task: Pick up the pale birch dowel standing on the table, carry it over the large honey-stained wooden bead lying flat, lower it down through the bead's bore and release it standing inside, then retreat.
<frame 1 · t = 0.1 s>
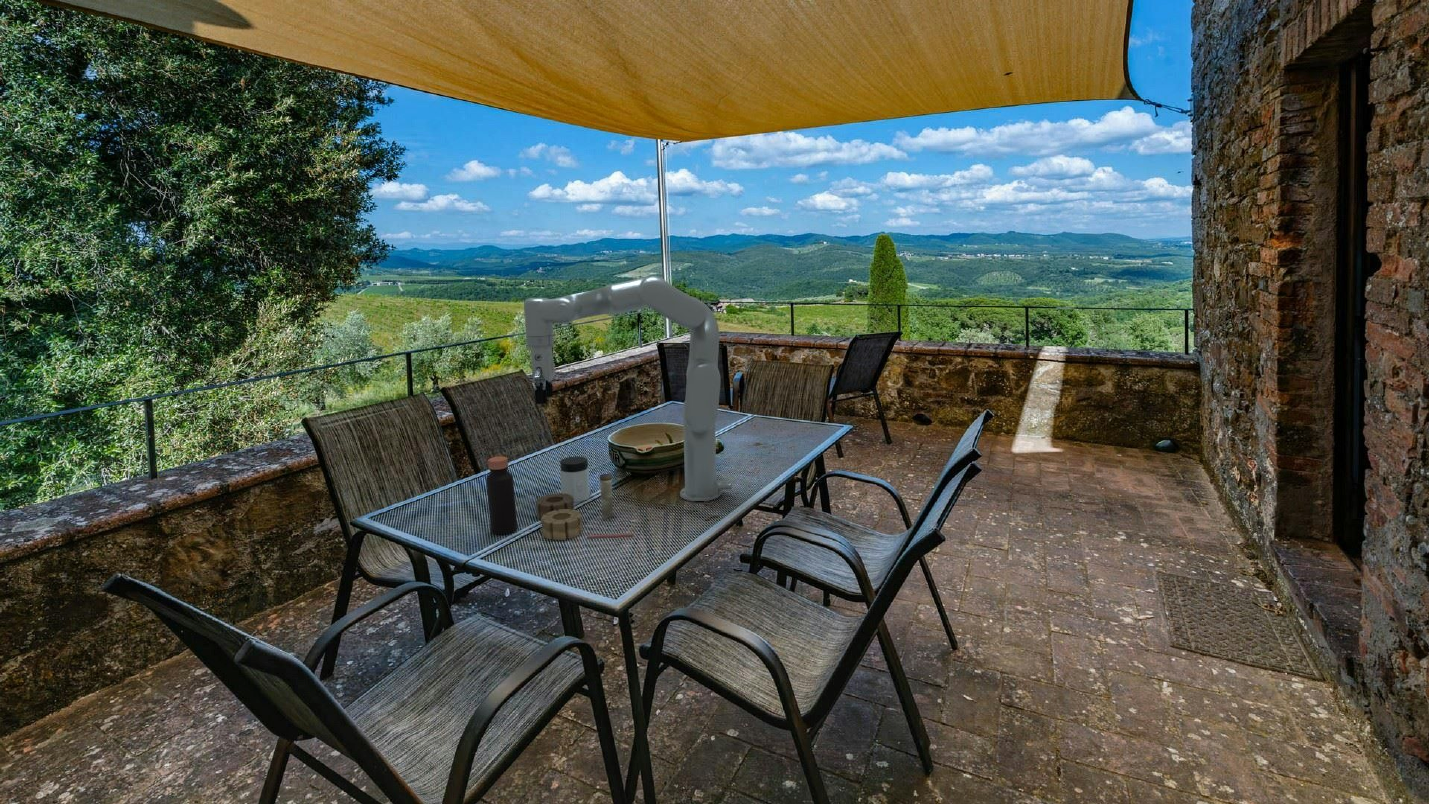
hand: (544, 400, 190), 31 cm above the table, tool pointing down, fingers open, 9 cm apart
bead two: (555, 514, 186), on the table
dowel: (607, 516, 184), on the table
jar: (576, 498, 199), on the table
reddish brown square stick: (610, 536, 170), on the table
bottle: (504, 530, 176), on the table
bead: (562, 532, 174), on the table
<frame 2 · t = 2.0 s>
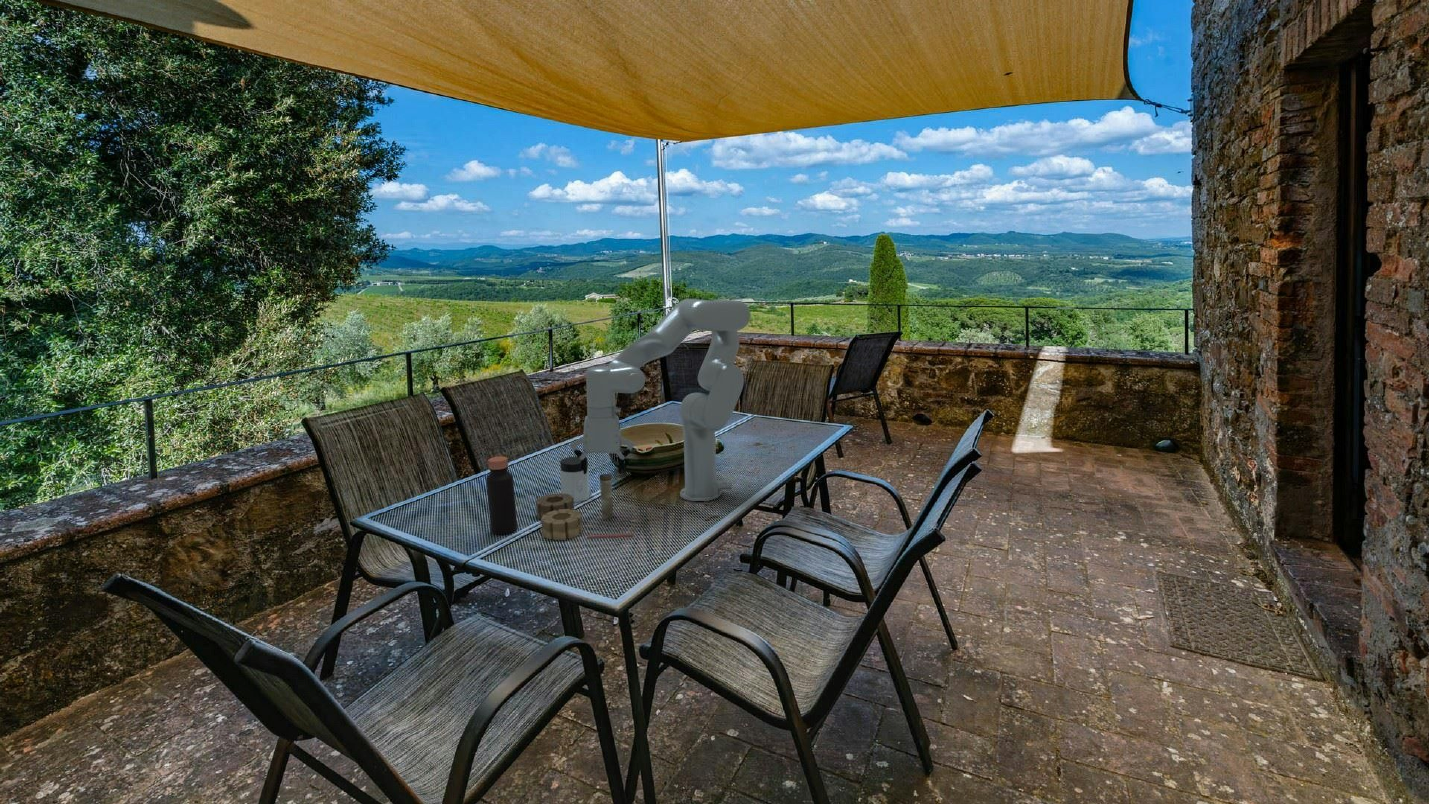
hand: (603, 472, 181), 13 cm above the table, tool pointing down, fingers open, 9 cm apart
nothing on the table moved.
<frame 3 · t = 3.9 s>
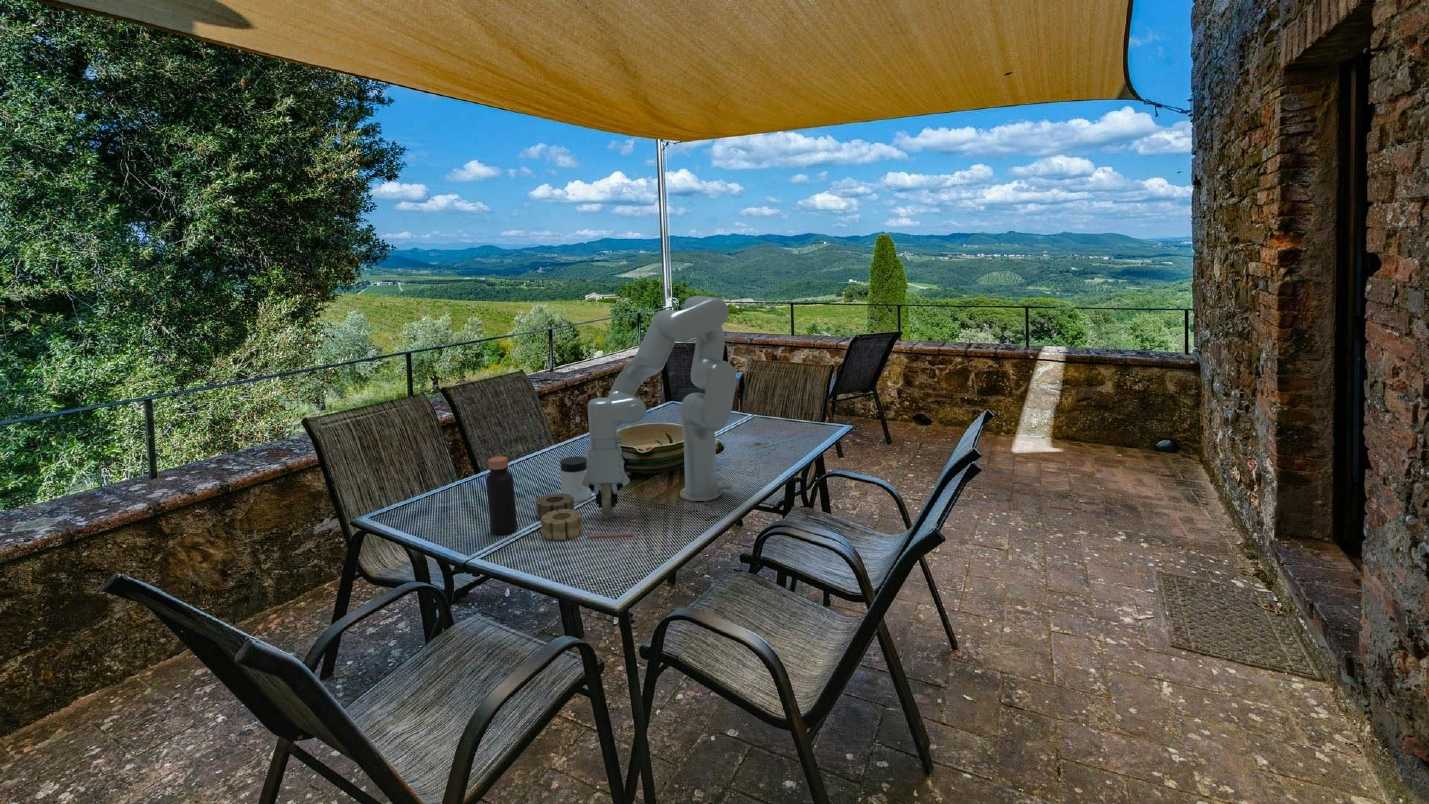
hand: (607, 505, 183), 3 cm above the table, tool pointing down, fingers closed on dowel, 3 cm apart
dowel: (607, 516, 184), on the table, touching gripper
everything else where it was.
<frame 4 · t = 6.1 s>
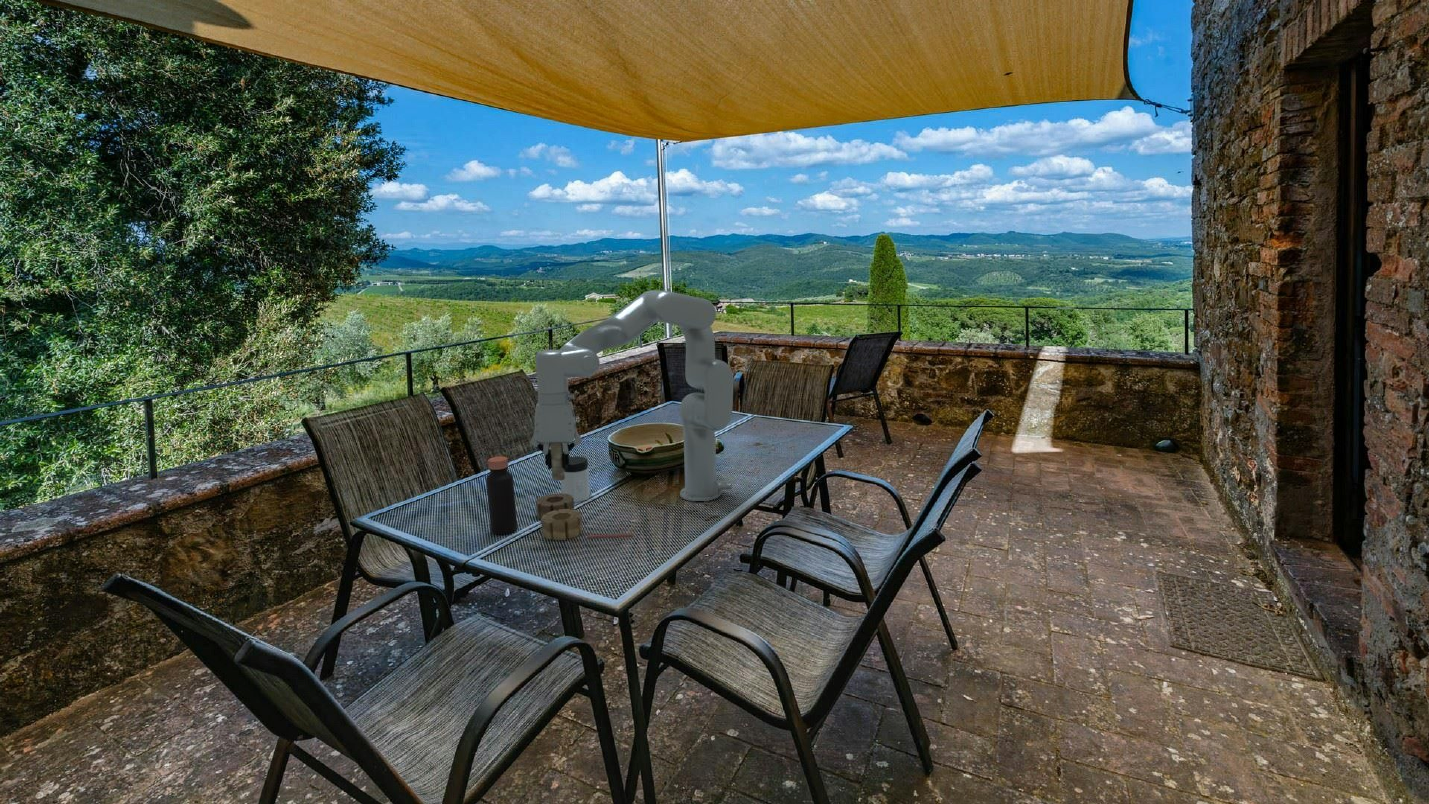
hand: (557, 467, 170), 18 cm above the table, tool pointing down, fingers closed on dowel, 3 cm apart
dowel: (558, 478, 170), point 15 cm above the table, touching gripper
everything else where it was.
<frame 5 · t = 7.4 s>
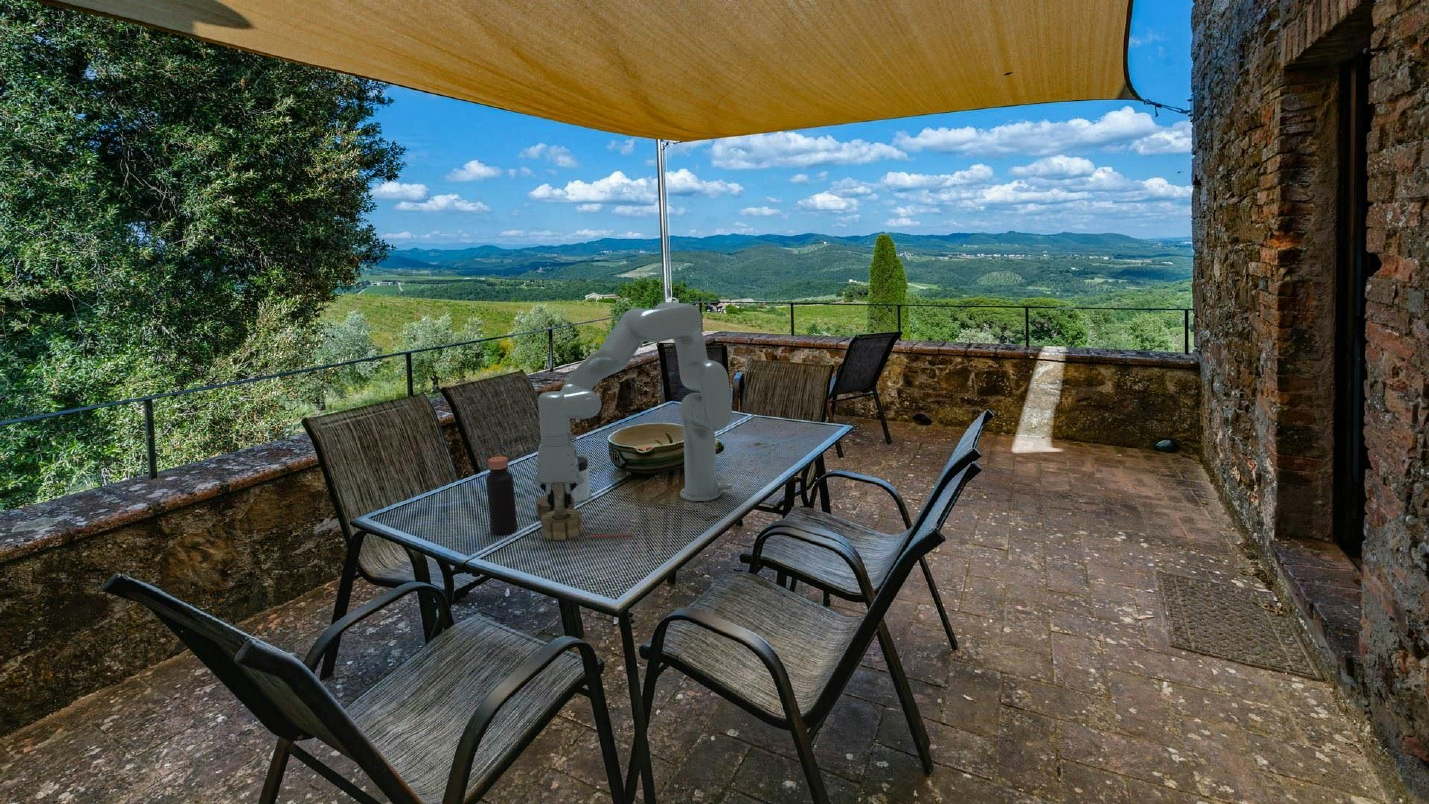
hand: (560, 506, 172), 7 cm above the table, tool pointing down, fingers closed on dowel, 3 cm apart
dowel: (560, 517, 173), point 4 cm above the table, touching gripper
everything else where it was.
when the fingers open (6 cm above the table, at t = 8.3 s): dowel drops 2 cm, resting in bead.
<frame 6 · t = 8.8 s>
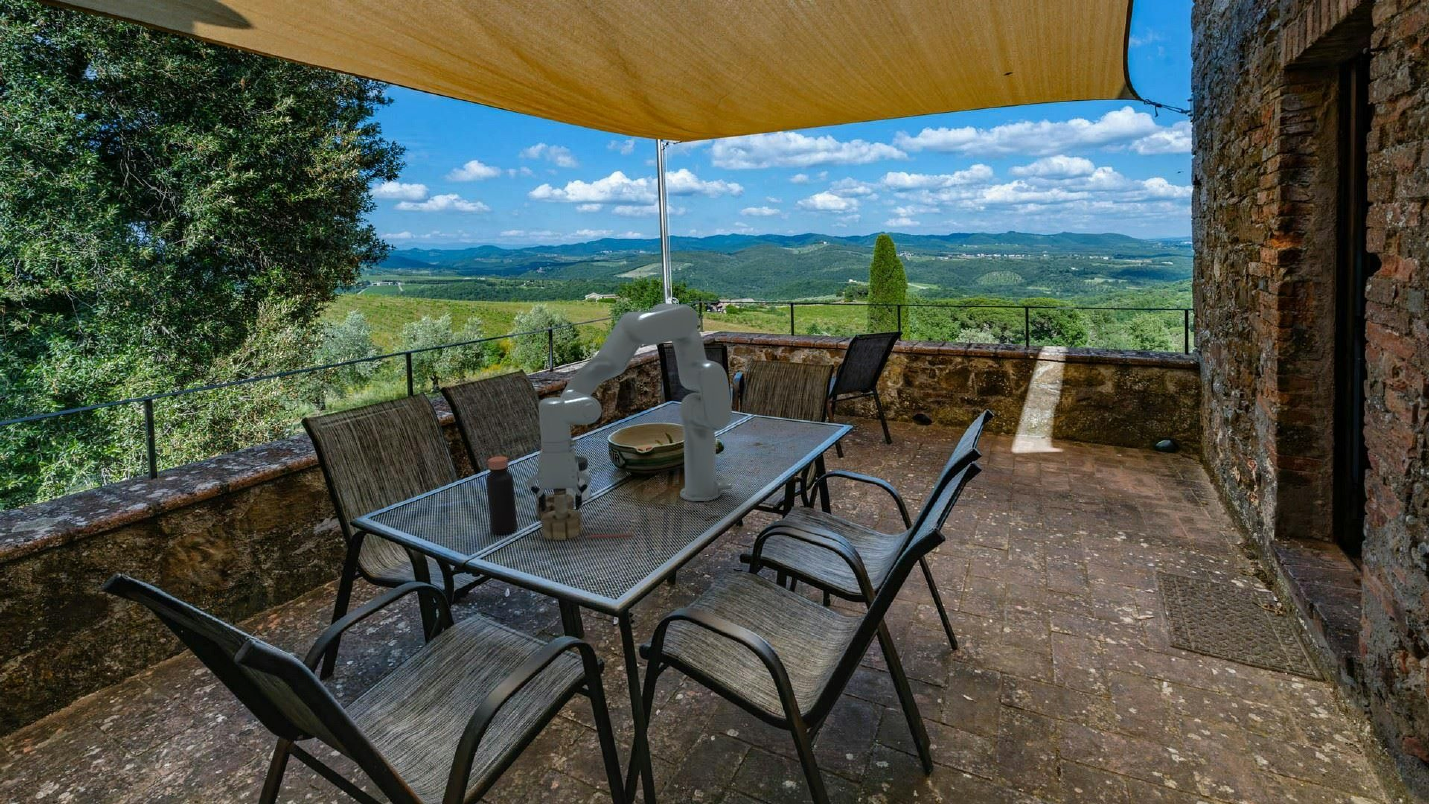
hand: (561, 508, 172), 7 cm above the table, tool pointing down, fingers open, 8 cm apart
dowel: (562, 532, 174), resting in bead
everything else where it was.
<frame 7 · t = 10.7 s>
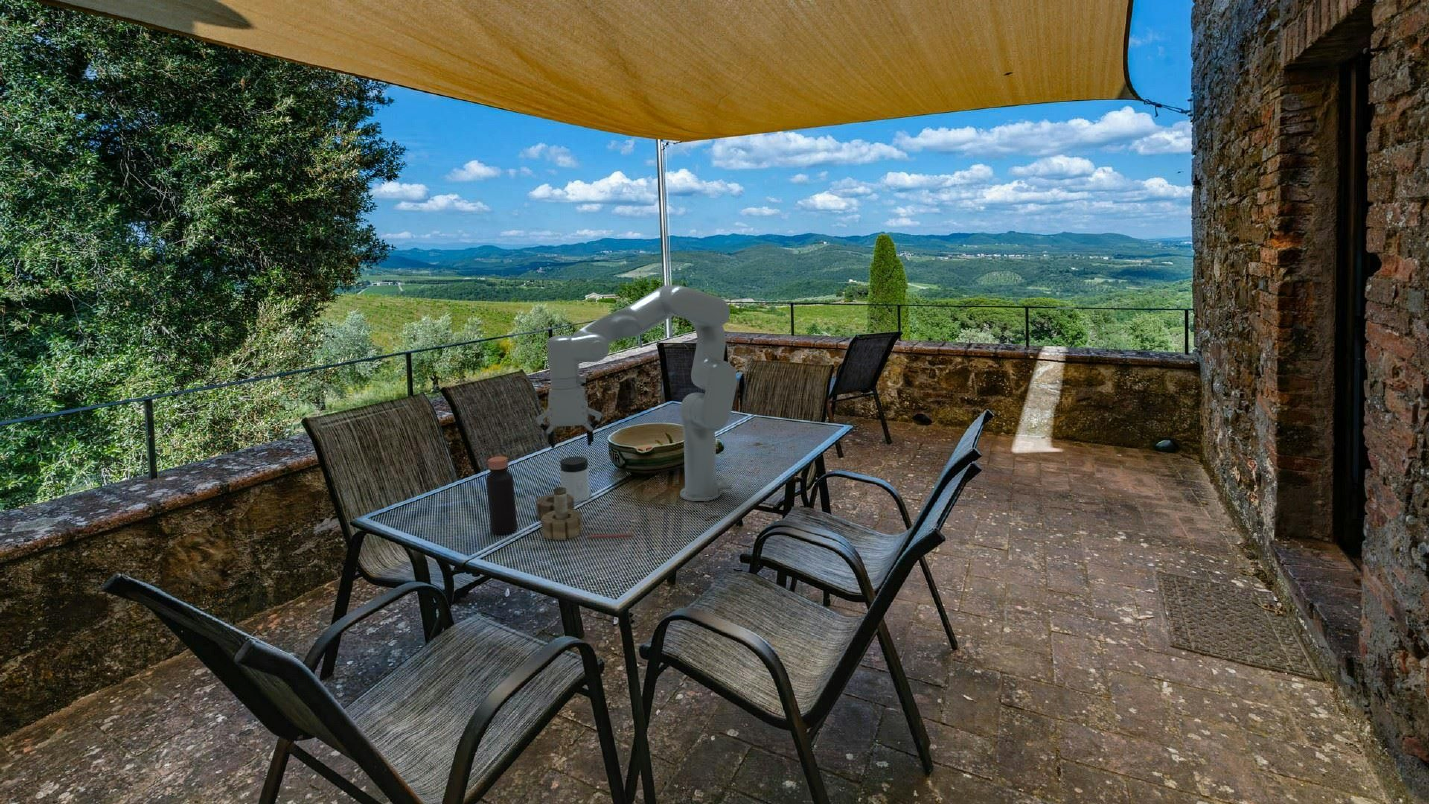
hand: (571, 445, 175), 22 cm above the table, tool pointing down, fingers open, 9 cm apart
nothing on the table moved.
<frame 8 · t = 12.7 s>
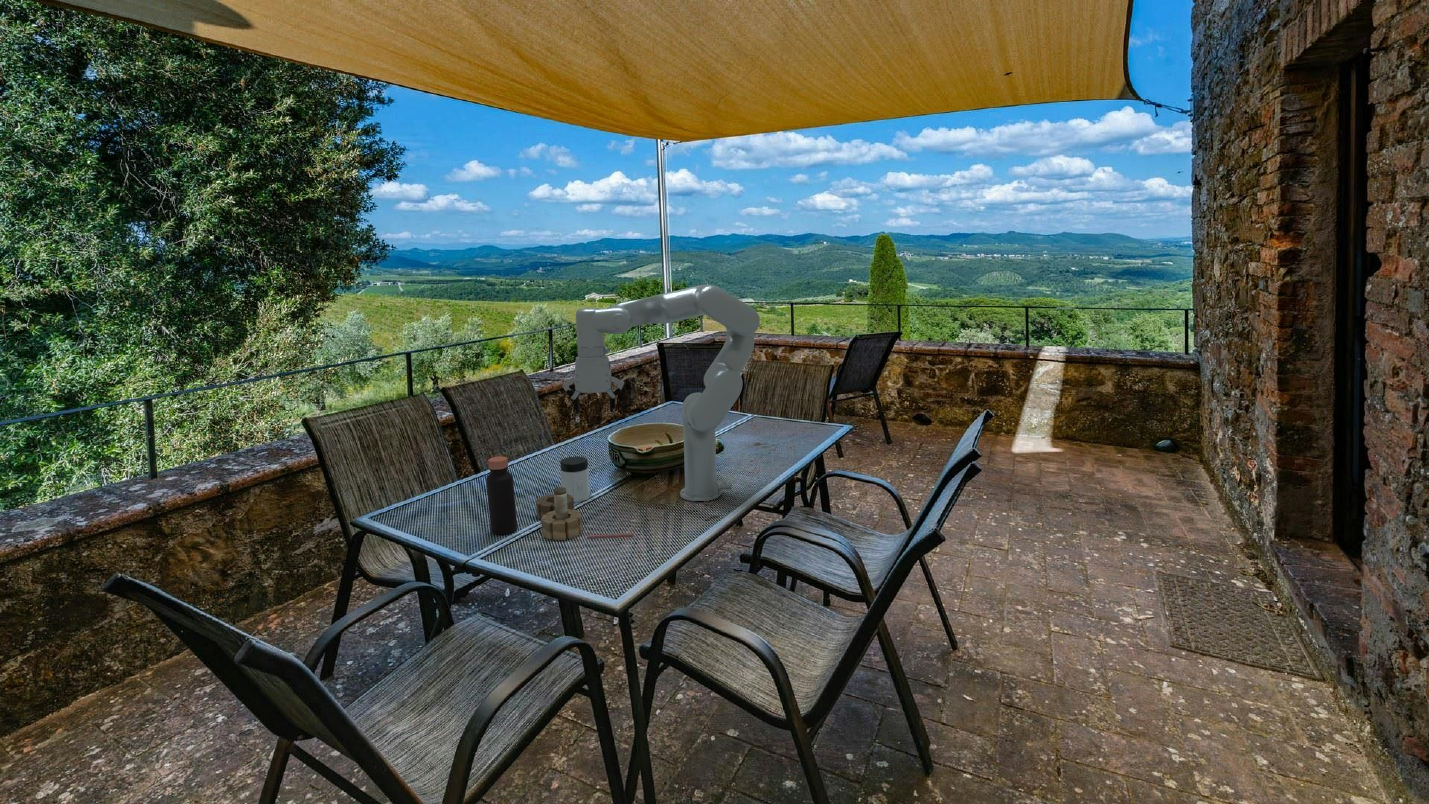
hand: (594, 411, 187), 28 cm above the table, tool pointing down, fingers open, 9 cm apart
nothing on the table moved.
at the end: dowel 0.0 cm off-centre on the bead, point 0.0 cm above the bead's base; dowel tilted 0°; the gripper is holding nothing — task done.
